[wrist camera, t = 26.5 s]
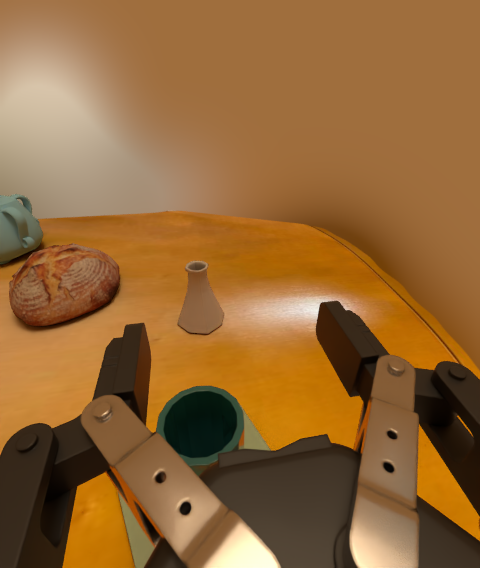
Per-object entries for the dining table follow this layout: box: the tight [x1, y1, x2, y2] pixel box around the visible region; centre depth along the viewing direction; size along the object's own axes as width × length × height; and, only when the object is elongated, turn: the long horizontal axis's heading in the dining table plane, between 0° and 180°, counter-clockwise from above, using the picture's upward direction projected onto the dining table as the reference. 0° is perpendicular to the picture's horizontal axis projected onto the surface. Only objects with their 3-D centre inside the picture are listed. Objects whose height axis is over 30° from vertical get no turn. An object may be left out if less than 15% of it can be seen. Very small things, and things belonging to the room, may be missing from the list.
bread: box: [9, 243, 120, 326], centre depth 53 cm, size 16×20×10 cm
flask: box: [178, 261, 224, 334], centre depth 47 cm, size 7×7×10 cm
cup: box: [156, 386, 244, 476], centre depth 24 cm, size 6×6×11 cm
